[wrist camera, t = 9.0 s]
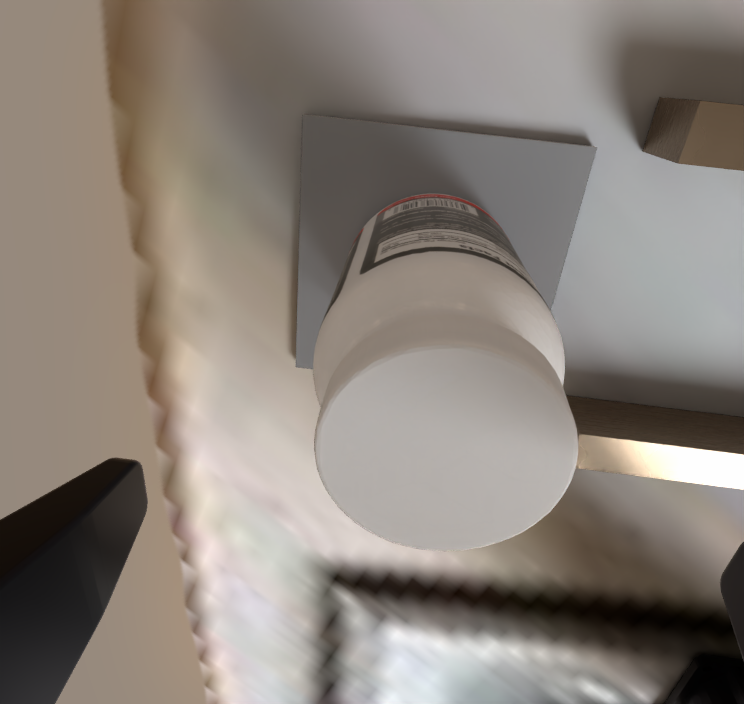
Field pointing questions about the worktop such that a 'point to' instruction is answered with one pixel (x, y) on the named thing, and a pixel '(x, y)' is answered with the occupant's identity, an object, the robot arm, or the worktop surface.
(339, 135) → the coaster
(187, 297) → the worktop surface
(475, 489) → the pill bottle
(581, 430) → the ball knob bracket
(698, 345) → the worktop surface
